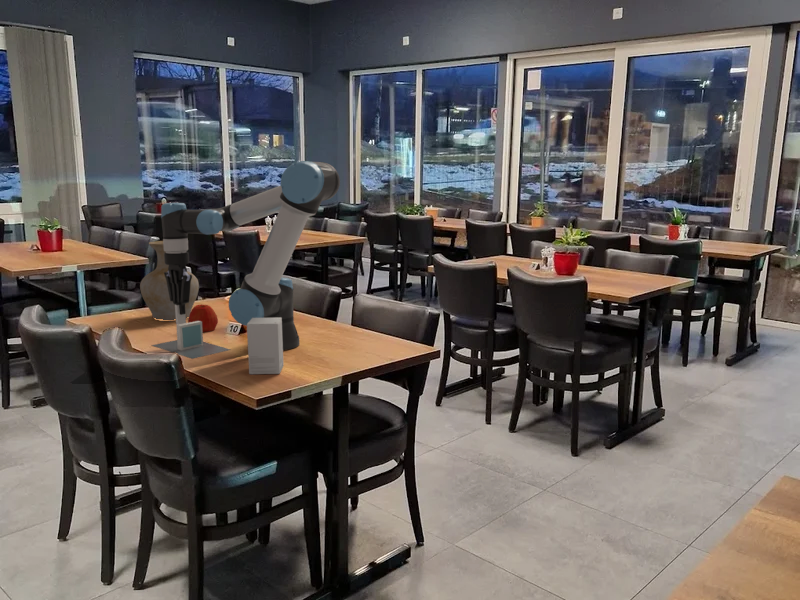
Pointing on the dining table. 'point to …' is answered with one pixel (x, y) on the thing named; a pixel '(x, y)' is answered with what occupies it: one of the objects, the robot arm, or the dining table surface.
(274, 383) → the dining table surface
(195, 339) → the tile
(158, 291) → the vase
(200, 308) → the apple
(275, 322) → the supplement box
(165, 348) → the slate board
